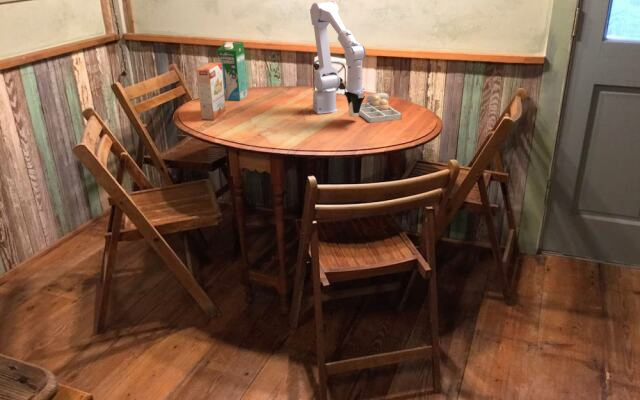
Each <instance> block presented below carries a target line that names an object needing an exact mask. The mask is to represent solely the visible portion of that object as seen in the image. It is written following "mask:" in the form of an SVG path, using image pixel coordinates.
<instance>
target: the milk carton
mask: <svg viewBox="0 0 640 400" xmlns="http://www.w3.org/2000/svg"><path fill="white" fill-rule="evenodd" d="M244 45H245V43H244V41H225V42H224V43H222V45H221V46H220V47H219V48H218V49H217V59H218V60H217V61H218V62H217V63H222V73H223V86H224V98H225V101H234V102H236V101H237V102H241V101H242V100H243V99H245V98H247V97H248V96H249V95H248V94H249V93H248V83H247V71H246V70H247V69H246V57H245V55H246V54H245V46H244Z"/></svg>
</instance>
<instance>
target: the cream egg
mask: <svg viewBox="0 0 640 400" xmlns="http://www.w3.org/2000/svg"><path fill="white" fill-rule="evenodd" d="M348 113H349V114H348V116H350V117H352V118H356V117H359V116H360V115H359V113H354V112H353V105H352V101H351V102H350V104H349V105H348Z"/></svg>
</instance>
